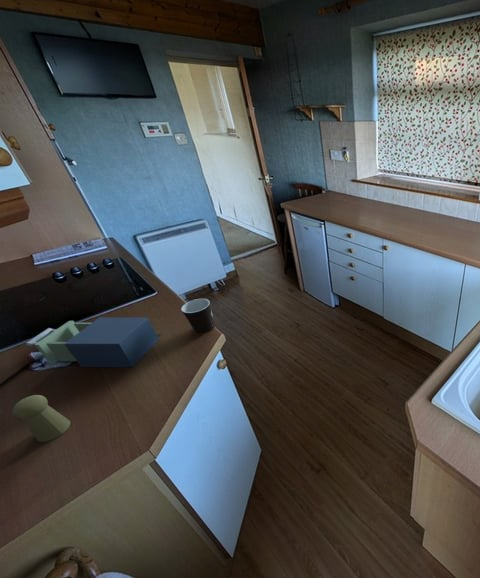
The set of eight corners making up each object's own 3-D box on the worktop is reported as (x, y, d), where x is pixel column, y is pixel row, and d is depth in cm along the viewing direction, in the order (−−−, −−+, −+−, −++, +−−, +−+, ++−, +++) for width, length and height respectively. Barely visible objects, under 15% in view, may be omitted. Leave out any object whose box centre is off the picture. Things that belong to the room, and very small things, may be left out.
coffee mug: (213, 334, 103) (204, 311, 98) (187, 336, 102) (176, 313, 97) (223, 315, 113) (215, 293, 108) (199, 316, 112) (190, 295, 106)
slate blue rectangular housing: (81, 367, 89) (63, 343, 84) (113, 339, 100) (99, 317, 95) (133, 367, 90) (118, 343, 85) (159, 339, 101) (147, 317, 95)
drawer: (30, 363, 89) (14, 344, 85) (64, 338, 99) (51, 320, 95) (98, 363, 90) (85, 344, 86) (125, 338, 99) (114, 320, 95)
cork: (33, 432, 71) (3, 404, 66) (66, 415, 76) (40, 386, 70) (40, 447, 69) (8, 418, 63) (73, 427, 73) (47, 398, 67)
